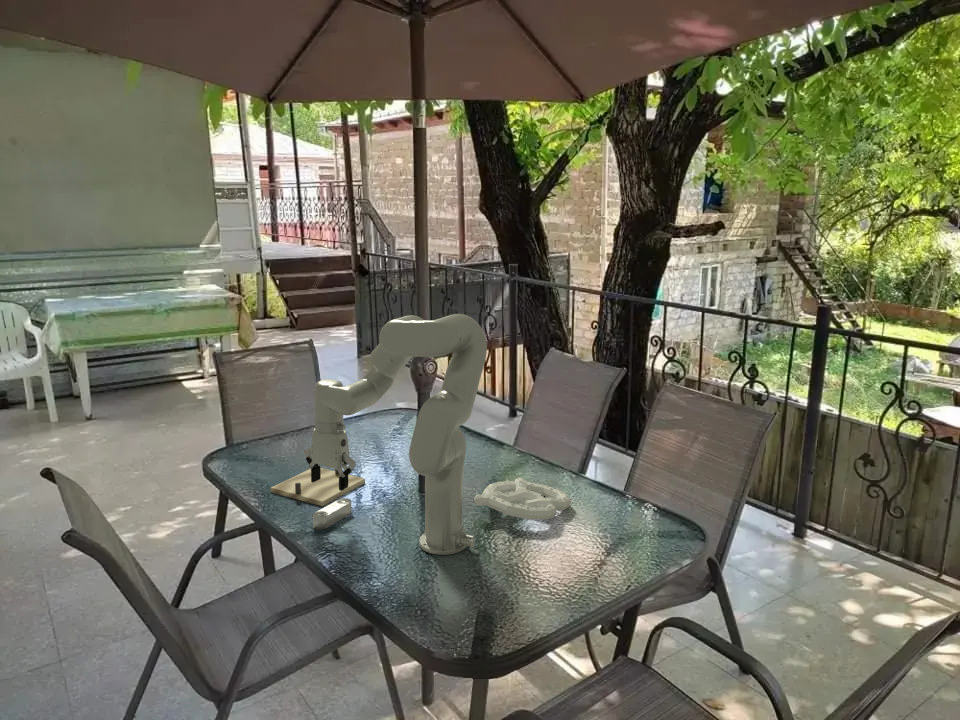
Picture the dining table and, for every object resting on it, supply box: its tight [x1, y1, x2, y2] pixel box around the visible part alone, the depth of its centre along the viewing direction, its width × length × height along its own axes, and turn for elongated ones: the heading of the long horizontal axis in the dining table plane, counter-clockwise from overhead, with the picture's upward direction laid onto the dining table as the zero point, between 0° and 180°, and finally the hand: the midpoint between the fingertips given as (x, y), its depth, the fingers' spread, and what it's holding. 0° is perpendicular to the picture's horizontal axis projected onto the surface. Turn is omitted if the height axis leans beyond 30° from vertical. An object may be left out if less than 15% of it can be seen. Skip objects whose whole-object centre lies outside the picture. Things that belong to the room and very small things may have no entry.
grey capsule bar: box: [312, 497, 353, 531], centre depth 194 cm, size 4×14×4 cm, turn 152°
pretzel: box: [473, 477, 572, 521], centre depth 202 cm, size 28×24×6 cm
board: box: [270, 467, 366, 507], centre depth 215 cm, size 20×20×4 cm
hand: (329, 484), depth 192 cm, fingers open, 9 cm apart
